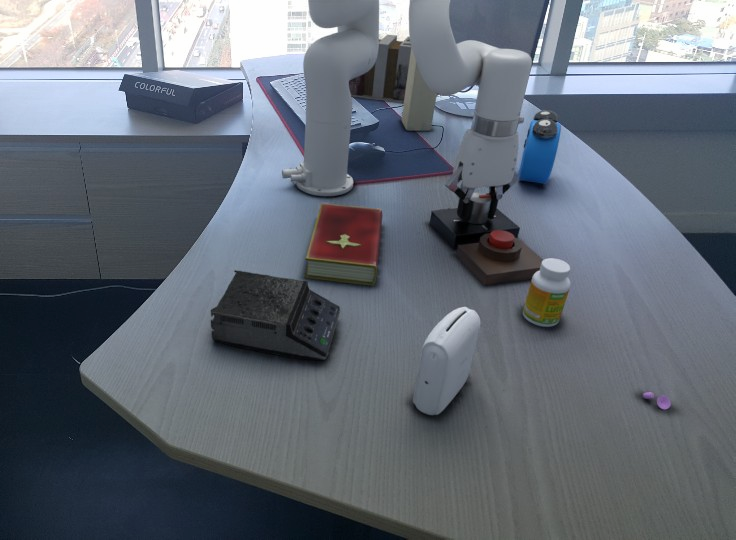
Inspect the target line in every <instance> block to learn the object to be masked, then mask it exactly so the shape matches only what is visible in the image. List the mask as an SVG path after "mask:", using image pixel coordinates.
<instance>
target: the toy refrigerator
mask: <svg viewBox="0 0 736 540" xmlns="http://www.w3.org/2000/svg"><path fill="white" fill-rule="evenodd" d="M437 95H438V94H437V93H435V92H433V91H432V90H431V89H430V88H429V87H428V86H427V84H426V82H425V81H424V79H423V77H422V75H421V72H420V70H419V67H418V65H417V62H416V59H415V56H414V54H413V50H412V47H411V54H410V61H409V69H408V76H407V83H406V90H405V97H404V103H403V106H402V112H401V122H402V125H403V126H404V128H405V130H406V131H408V132H409V131H411V132H412V131H413V132H414V131H422V132H423V131H424V132H425V131H426V132H429V131H430V132H431V131H432V126H433V119H434V113H435V108H436V101H437Z"/></svg>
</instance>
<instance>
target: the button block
mask: <svg viewBox="0 0 736 540" xmlns="http://www.w3.org/2000/svg"><path fill="white" fill-rule="evenodd" d="M489 237H490V233H486V234H484V235H483V236H481V237H480V241H479V243H472V244H464V245H458V249H456V254H455V256H456V257H457V259H458V260H460V262H462V263H463V265H464V266H465V267H466V268H467V269H468V270H469V271H470V272H471V273H472V274H473V275H474V277H476V278H477V280H479V282H481V284H482V285H483V286H491V285H497V284H504V283H505V284H506V283H512V282H521V281H527V280H532V277H533V275H534V274H535V273H536V272H537V271H540V266H541V263H542V261H543V260H544V259H543V258H542V257H541V256H540V255H539V254H537V253H536V252H535V251H534V250H533V249H532V248H531V247H530V246H528V244H526V243H525V242H524V241H522V239H520V238H519V237H518V238H515V237H514V242H513V246H512V248H510V249H500V248H496V247H493V246H491V245H490V244H489Z"/></svg>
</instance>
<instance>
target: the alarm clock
mask: <svg viewBox="0 0 736 540" xmlns="http://www.w3.org/2000/svg"><path fill="white" fill-rule="evenodd" d="M558 117H559V116H558V115H557V114H556V112H554V111H553V110H549V108H548V109H544V110H540V111H538V112H536V113H535V114H534V116H533V120H531V122H530V123H529V127H528V129H527V134H526V138H525V139H524V143H523V151H522V156H521V160H520V164H519V171H518V177H519V181H523V182H530V183H537V184H540V189H541V188H543V185H545V184H547V183H548V182H549V179H550V177H551V175H552V171H553V168H554V165H555V160H556V157H557V152H558V148H559V143H560V139H561V138H560V137H561V131H562V125H561V123H559V122H558V121H559V118H558Z"/></svg>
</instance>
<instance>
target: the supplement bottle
mask: <svg viewBox="0 0 736 540" xmlns="http://www.w3.org/2000/svg"><path fill="white" fill-rule="evenodd" d="M570 272H571V266H570V264H569V263H568V262H566V261H564V260H562V259H559V258H554V257H548V258H544V259H543V261H542V263H541V266H540V271H537V272H536V273H535V274H534V275H533V277H532V279H530V284H529V288H528V292H527V295H526V298H525V303H524V306H523V309H522V316H523V318H524V319H525V320H526V321H527V322H529V323H531V324H533V325H535V326H537V327H543V328H549V327H550V328H551V327H554V326H556V325H558V324H559V322H560V320H561V316H562V314H563V310H564V308H565V305H566V301H567V299H568V295H569V292H570V289H571V285H572V284H571V280H570V279H569V275H570Z"/></svg>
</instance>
